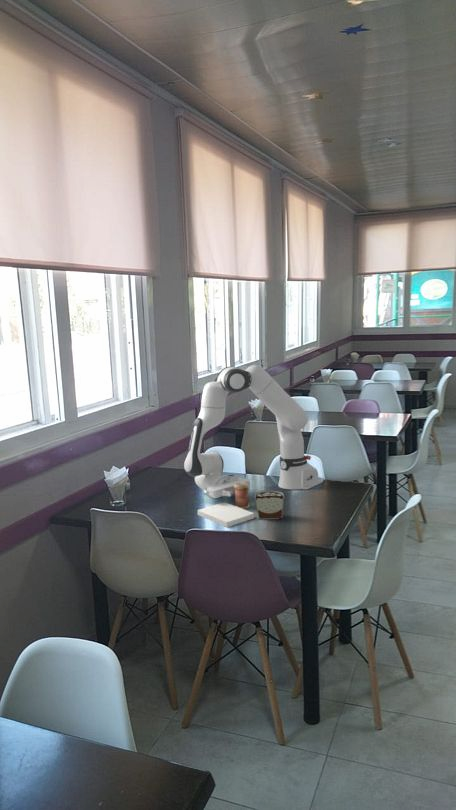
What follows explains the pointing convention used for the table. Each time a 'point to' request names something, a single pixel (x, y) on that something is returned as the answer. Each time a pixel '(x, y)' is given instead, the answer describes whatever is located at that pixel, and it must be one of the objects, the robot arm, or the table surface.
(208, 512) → the shelf board
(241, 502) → the cord spool
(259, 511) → the food container
